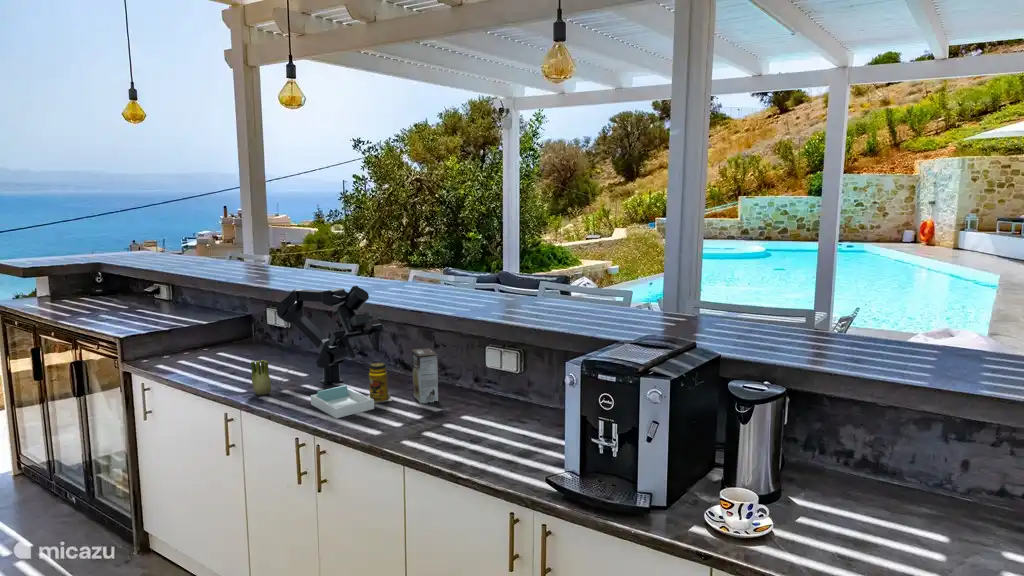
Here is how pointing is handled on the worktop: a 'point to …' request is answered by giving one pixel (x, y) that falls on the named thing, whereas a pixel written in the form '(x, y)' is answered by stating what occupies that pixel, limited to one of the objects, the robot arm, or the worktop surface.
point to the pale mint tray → (344, 404)
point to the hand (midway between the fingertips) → (366, 354)
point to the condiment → (378, 383)
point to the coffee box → (425, 375)
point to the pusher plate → (333, 393)
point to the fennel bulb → (260, 377)
